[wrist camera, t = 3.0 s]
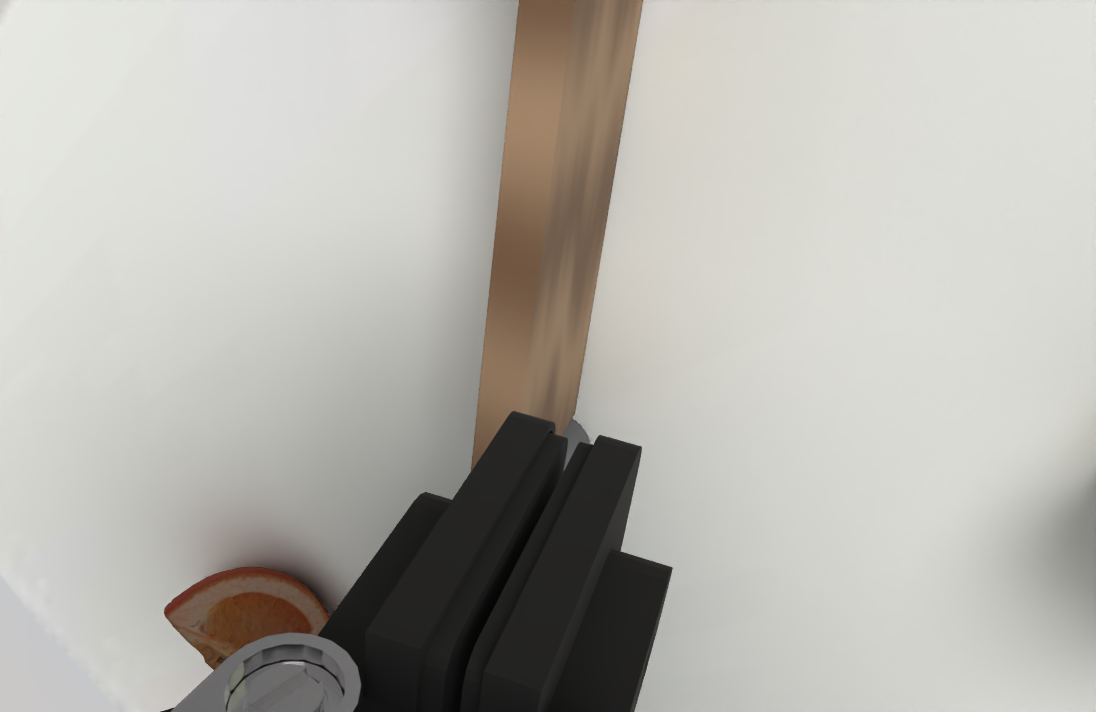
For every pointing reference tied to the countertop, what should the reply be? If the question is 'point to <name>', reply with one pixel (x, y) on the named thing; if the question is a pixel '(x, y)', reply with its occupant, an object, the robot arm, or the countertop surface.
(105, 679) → the countertop surface
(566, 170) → the gate
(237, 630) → the fruit slice
